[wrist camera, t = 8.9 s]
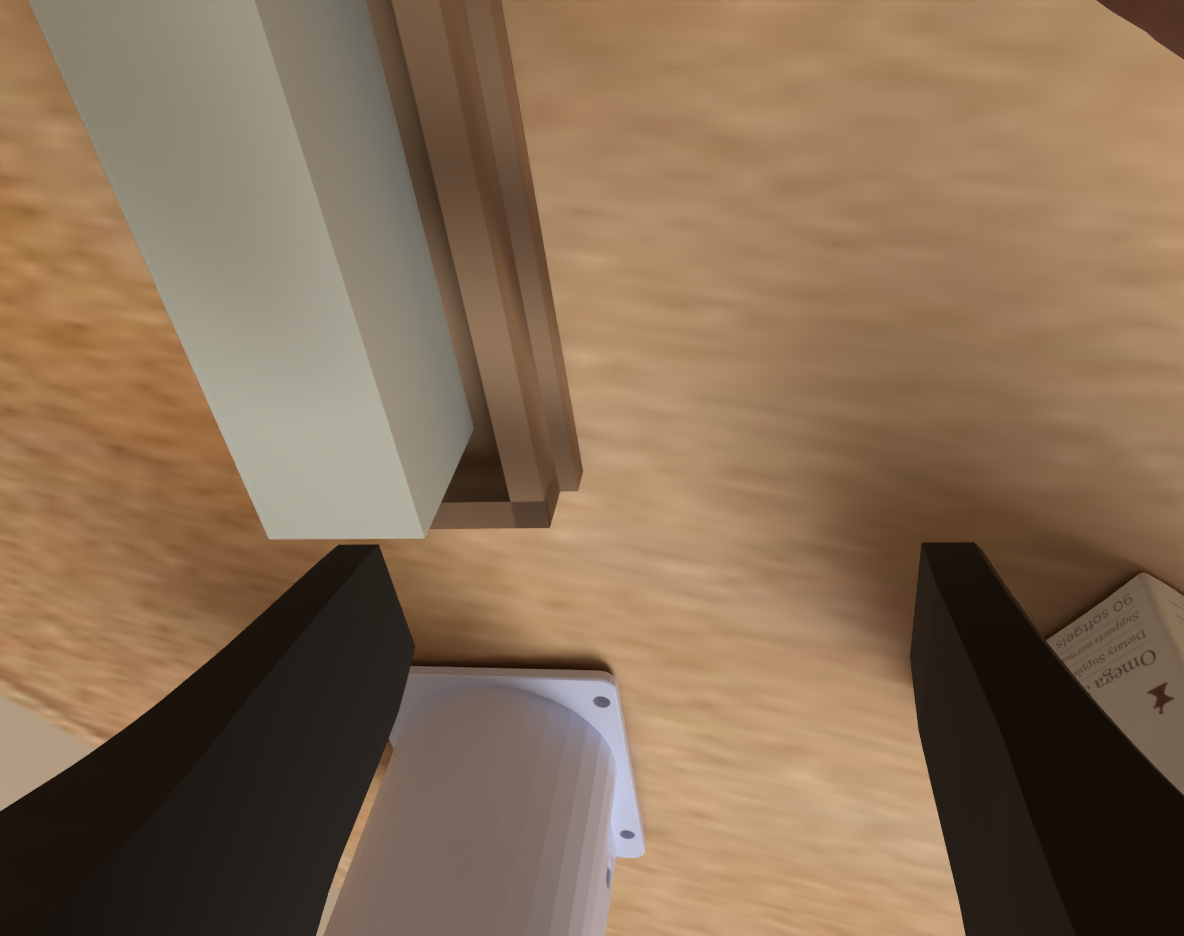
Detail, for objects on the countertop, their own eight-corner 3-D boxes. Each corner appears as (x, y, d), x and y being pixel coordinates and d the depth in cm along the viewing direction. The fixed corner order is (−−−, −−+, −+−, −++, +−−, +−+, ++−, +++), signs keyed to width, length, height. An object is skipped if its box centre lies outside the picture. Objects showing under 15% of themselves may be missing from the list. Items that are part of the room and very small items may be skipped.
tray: (582, 471, 23) (568, 527, 21) (293, 477, 25) (258, 530, 23) (441, -341, 14) (396, -359, 12) (-1, -250, 16) (-97, -254, 14)
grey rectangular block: (473, 428, 22) (425, 539, 19) (338, 433, 22) (268, 539, 19) (319, -183, 15) (199, -175, 12) (130, -150, 16) (-32, -133, 12)
